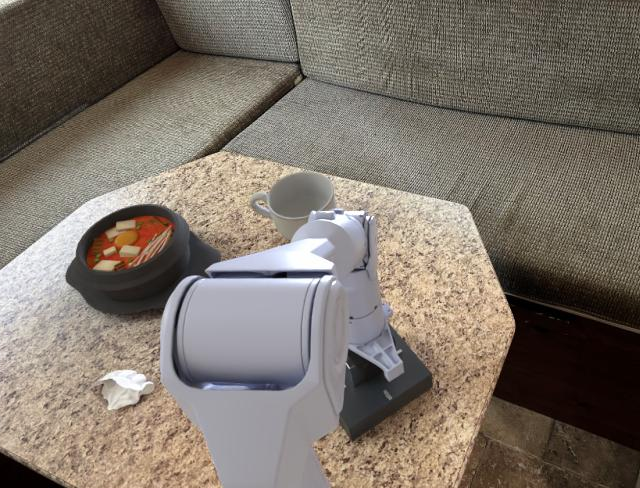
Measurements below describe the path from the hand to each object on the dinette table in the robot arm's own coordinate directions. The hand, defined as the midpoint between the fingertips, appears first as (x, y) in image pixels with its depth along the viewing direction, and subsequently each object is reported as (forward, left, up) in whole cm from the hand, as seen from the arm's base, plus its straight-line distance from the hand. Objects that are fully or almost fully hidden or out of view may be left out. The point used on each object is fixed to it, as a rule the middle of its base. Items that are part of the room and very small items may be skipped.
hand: (369, 368), depth 75 cm
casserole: (-18, +38, -4) cm, 42 cm away
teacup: (+6, +32, -4) cm, 33 cm away
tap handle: (0, 0, 0) cm, 0 cm away
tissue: (-27, +19, -4) cm, 33 cm away
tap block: (0, 0, -3) cm, 3 cm away
